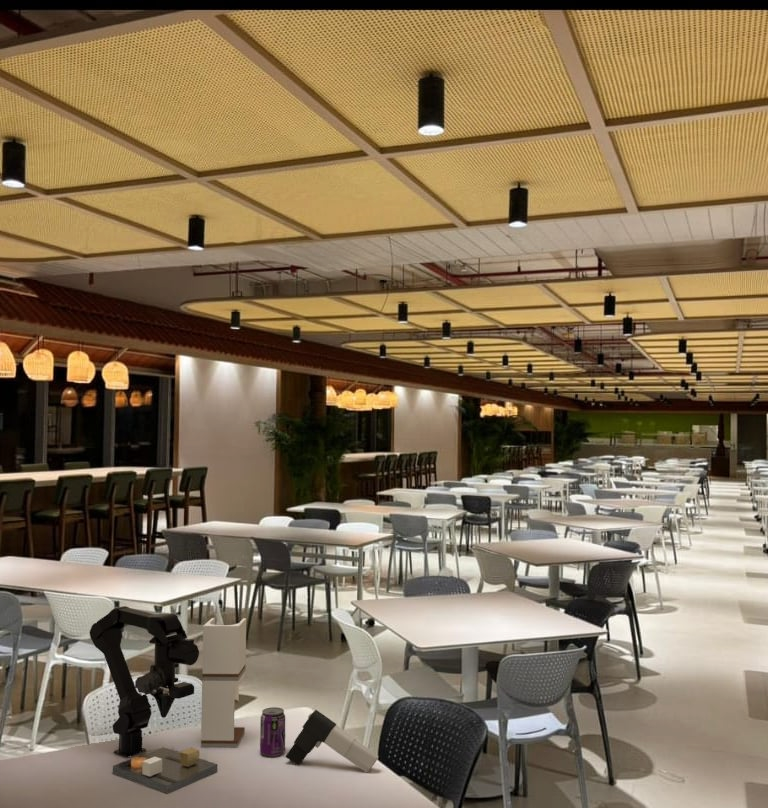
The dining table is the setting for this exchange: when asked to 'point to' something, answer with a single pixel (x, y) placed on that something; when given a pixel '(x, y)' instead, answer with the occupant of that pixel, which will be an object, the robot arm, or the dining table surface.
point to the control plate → (166, 771)
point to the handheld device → (330, 742)
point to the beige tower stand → (222, 683)
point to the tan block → (189, 757)
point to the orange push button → (137, 762)
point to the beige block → (152, 766)
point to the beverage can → (272, 731)
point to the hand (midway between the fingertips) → (163, 717)
